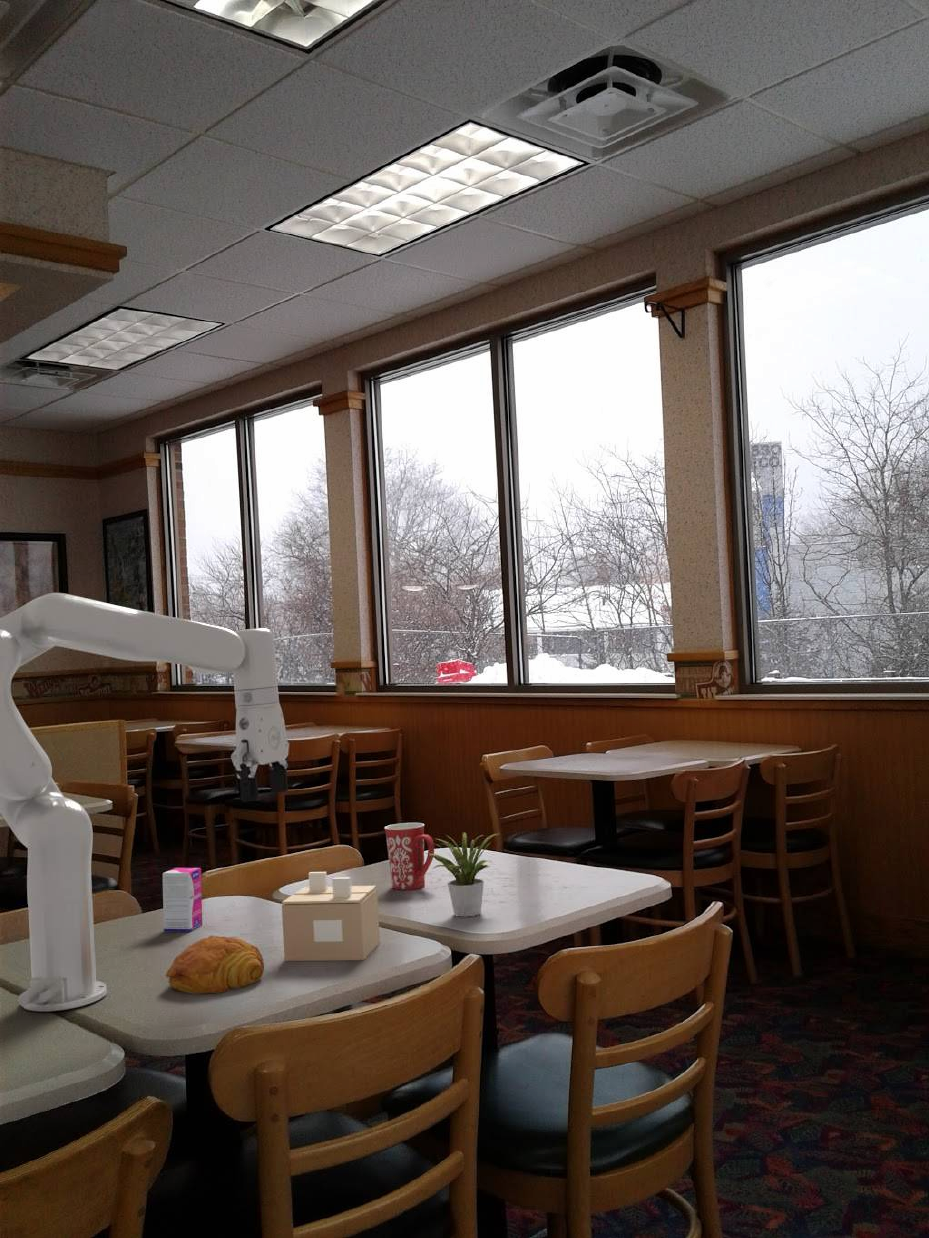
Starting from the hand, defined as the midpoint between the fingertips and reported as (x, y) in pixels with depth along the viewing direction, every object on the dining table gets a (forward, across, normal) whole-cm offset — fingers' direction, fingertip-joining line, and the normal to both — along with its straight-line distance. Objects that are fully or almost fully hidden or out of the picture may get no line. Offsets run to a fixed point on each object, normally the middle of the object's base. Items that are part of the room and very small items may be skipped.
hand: (265, 796), depth 192 cm
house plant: (+29, +34, -23) cm, 50 cm away
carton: (+28, +4, -9) cm, 30 cm away
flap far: (+18, +7, -9) cm, 21 cm away
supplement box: (+28, +14, +30) cm, 43 cm away
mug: (+30, +54, -2) cm, 62 cm away
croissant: (+28, -16, +2) cm, 32 cm away
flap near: (+18, +1, -10) cm, 21 cm away
